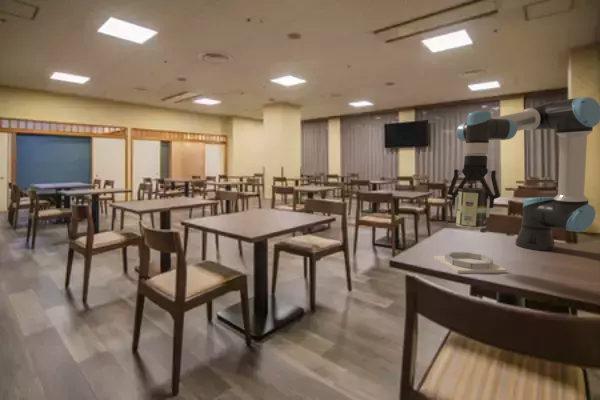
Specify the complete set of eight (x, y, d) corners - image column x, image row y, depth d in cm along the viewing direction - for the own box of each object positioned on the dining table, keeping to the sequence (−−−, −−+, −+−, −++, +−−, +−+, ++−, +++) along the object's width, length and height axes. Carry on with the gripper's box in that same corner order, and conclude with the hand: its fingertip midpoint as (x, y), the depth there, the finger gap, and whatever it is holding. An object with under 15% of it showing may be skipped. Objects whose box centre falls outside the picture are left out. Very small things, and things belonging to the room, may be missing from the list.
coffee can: (481, 224, 133) (484, 187, 131) (490, 229, 123) (493, 190, 121) (452, 222, 135) (455, 187, 133) (459, 228, 125) (462, 189, 123)
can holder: (477, 257, 140) (477, 250, 140) (506, 272, 123) (506, 264, 122) (434, 258, 139) (434, 251, 139) (457, 273, 121) (458, 264, 121)
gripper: (513, 155, 122) (507, 217, 125) (445, 155, 135) (442, 210, 138) (511, 155, 116) (505, 220, 119) (441, 154, 129) (437, 213, 132)
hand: (471, 215), depth 128 cm, fingers closed on coffee can, 10 cm apart
